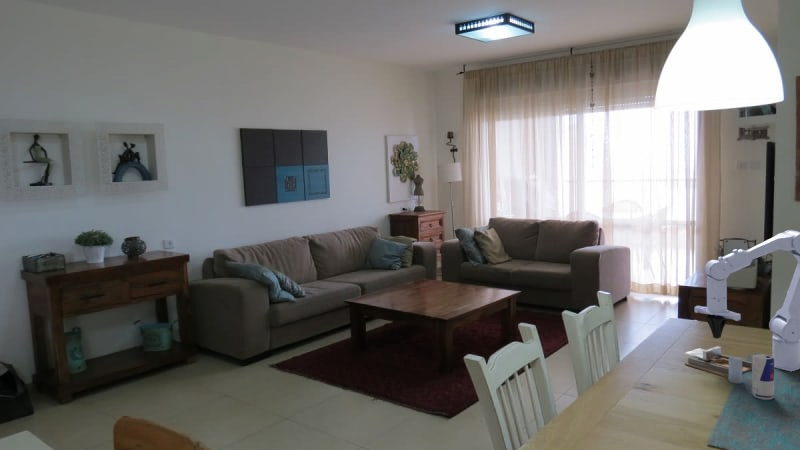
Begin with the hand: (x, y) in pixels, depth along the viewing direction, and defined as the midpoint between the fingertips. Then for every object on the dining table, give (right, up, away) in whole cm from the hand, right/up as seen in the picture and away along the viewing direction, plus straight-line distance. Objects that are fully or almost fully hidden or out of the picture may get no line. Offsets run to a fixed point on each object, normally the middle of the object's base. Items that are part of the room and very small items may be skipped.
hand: (717, 337), depth 191 cm
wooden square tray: (+1, -10, 0) cm, 10 cm away
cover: (-2, -7, +5) cm, 9 cm away
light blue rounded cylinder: (-1, -11, -12) cm, 17 cm away
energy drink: (0, -12, -24) cm, 27 cm away
